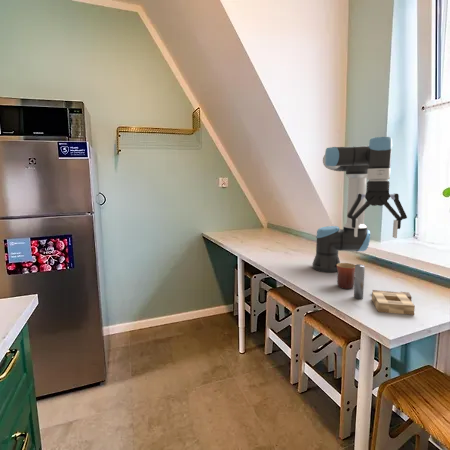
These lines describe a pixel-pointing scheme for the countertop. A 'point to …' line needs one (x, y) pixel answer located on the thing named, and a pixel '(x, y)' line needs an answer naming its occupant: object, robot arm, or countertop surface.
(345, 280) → the mug
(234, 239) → the countertop surface
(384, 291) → the bar
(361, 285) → the pin
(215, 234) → the countertop surface
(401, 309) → the socket block
